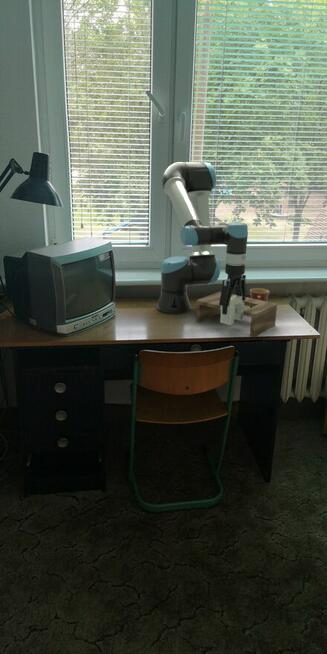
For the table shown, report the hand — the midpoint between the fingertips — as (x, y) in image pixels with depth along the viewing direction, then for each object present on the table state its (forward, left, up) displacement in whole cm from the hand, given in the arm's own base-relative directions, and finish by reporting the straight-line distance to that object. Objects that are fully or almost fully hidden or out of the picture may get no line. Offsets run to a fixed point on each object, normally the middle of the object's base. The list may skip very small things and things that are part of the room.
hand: (231, 318), depth 196 cm
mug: (-2, +26, -5) cm, 27 cm away
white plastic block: (0, 0, -1) cm, 1 cm away
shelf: (-3, +8, -5) cm, 10 cm away
